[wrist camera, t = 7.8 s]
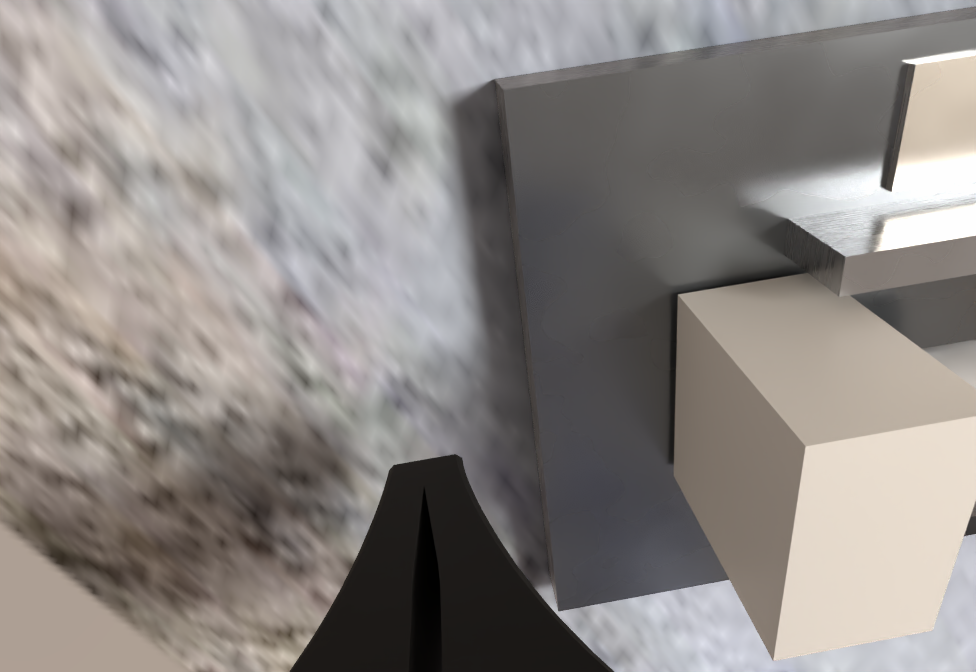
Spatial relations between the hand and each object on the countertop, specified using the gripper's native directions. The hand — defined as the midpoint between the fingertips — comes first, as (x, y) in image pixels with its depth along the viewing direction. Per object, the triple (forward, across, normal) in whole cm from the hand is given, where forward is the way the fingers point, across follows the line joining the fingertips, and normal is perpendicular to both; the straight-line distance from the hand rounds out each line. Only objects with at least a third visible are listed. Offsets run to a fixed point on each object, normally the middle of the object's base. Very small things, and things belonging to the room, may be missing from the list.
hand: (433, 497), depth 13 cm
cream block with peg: (+2, -9, 0) cm, 9 cm away
